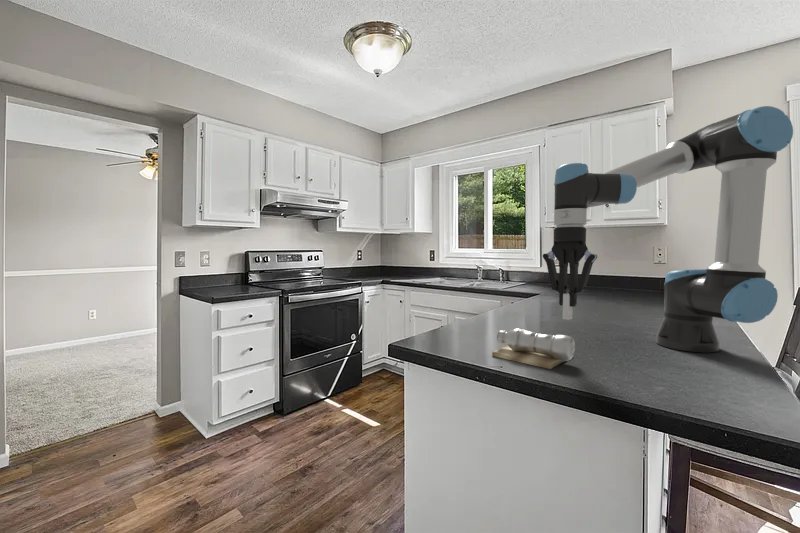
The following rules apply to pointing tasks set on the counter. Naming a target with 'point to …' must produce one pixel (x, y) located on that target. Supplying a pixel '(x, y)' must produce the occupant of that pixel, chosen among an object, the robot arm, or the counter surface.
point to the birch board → (527, 357)
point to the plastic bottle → (538, 343)
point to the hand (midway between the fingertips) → (567, 318)
